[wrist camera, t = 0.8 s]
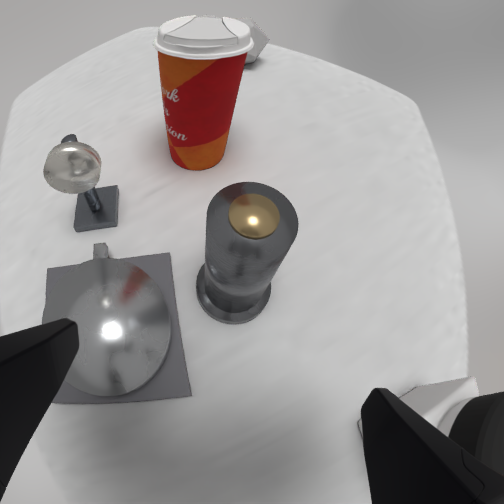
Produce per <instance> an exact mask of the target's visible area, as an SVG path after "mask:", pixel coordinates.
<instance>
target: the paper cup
mask: <svg viewBox="0 0 504 504" xmlns="http://www.w3.org/2000/svg"><path fill="white" fill-rule="evenodd" d="M253 45H254V42H253V40H252V38H251V37H250V28H249V27H248V25H246V24H245V23H243V22H241V21H239V20H236V19H233V18H228V17H223V18H222V20H221V18H216V16H202V17H196V15H192V16H185V17H179V18H175V19H172V20H169V21H167V22H165V23H164V24H162V25H161V27H160V28H159V31H158V36H157V37H156V38H155V40H154V41H153V46H154V48H155V49H156V50H157V51H158V60H159V71H160V81H161V90H162V99H163V107H164V115H165V122H166V130H167V136H168V143H169V148H170V153H171V157H172V159H173V161H174V162H175V163H176V164H177V165H179V166H180V167H182V168H185V169H188V170H205V169H208V168H211V167H213V166H215V165H216V164H218V163H219V162H220V160H221V159H222V157H223V155H224V151H225V147H226V143H227V138H228V134H229V129H230V125H231V120H232V116H233V112H234V107H235V103H236V98H237V94H238V90H239V86H240V81H241V77H242V73H243V69H244V65H245V61H246V57H247V53H248V51H250V50H251V49H252V48H253Z"/></svg>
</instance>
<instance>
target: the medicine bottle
mask: <svg viewBox="0 0 504 504" xmlns="http://www.w3.org/2000/svg"><path fill="white" fill-rule="evenodd" d="M399 399H400V400H402V401H403V402H404V403H405V404H407V405H408V406H409V407H410V408H412V409H413V410H414V411H415V412H417V413H418V414H419V415H420V416H422V417H423V418H424V419H425V420H427V421H428V422H429V423H431V424H432V425H433V426H434V427H436V428H437V429H438V430H439V431H441V432H442V433H443V434H445V435H446V436H447V437H448V438H450V439H451V440H452V441H454V442H455V443H456V444H458V445H459V446H460V447H461V448H463V449H464V450H465V451H467V452H468V453H469V454H471V455H472V456H473V457H475V458H476V459H478V460H479V461H480V462H482V463H484V464H485V465H487V466H488V467H490V468H491V469H493V470H495V471H496V472H498V473H499V474H501V475H503V476H504V392H499V393H494V394H489V395H484V396H479V392H478V387H477V384H476V379H475V377H473V376H470V377H466V378H461V379H456V380H451V381H446V382H441V383H435V384H429V385H422V386H418V387H416V388H415V389H413V390H412V391H410V392H408V393H407V394H405V395H404V396H402V397H400V398H399ZM359 427H360V431H361V434H362V437H363V433H362V420H360V421H359Z"/></svg>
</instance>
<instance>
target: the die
mask: <svg viewBox="0 0 504 504" xmlns="http://www.w3.org/2000/svg"><path fill="white" fill-rule="evenodd" d="M235 19H236V20H239V21H241V22H243V23H245V24H246V25H248V27H249V28H250V37H251V38H252V40H253V42H254V45H253V48H252V49H251V50H250V51H248V53H247V57H246V61H245V64H246V63H252V62H254V61H255V60H256V58H257V57H258V55H259V54H260V53H261V51H262V50H263V48H264V47H265V46H266V44H267V43H268V41H269V40H270V39H269V38H268V37H267V36H266V34H265V33H264V32H263V31H262V30H261V29H260V28H259V27H258V25H257V24H256V23H255V22H254V21H253V20H252V19H251V18H235Z"/></svg>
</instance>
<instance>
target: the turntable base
mask: <svg viewBox="0 0 504 504" xmlns="http://www.w3.org/2000/svg"><path fill="white" fill-rule="evenodd" d="M119 260H123V261H126V262H129V263H131V264H133V265H135V266H137V267H139V268H140V269H142V270H143V271H144V272H145V273H146V274H148V275H149V276H150V277H151V278H152V280H153V281H154V282H155V283H156V285H157V286H158V288H159V289H160V291H161V293H162V295H163V297H164V299H165V302H166V304H167V307H168V310H169V314H170V319H171V341H170V347H169V350H168V353H167V356H166V358H165V361H164V363H163V365H162V366H161V368H160V369H159V371H158V372H157V373H156V375H155V376H154V377H153V378H152V379H151V380H150V381H149V382H147V383H146V384H145V385H144V386H142V387H140V388H139V389H137V390H135V391H133V392H130V393H127V394H123V395H117V396H98V395H92V394H89V393H86V392H83V391H81V390H79V389H77V388H75V387H73V386H72V385H71V384H69V383H68V382H67V381H65V380H64V381H63V383H62V385H61V387H60V389H59V391H58V393H57V394H56V396H55V398H54V399H53V401H52V403H74V404H86V403H119V402H135V401H148V400H159V399H168V398H177V397H185V396H191V395H192V394H191V390H190V385H189V380H188V374H187V369H186V364H185V358H184V352H183V346H182V340H181V334H180V328H179V321H178V315H177V307H176V300H175V293H174V285H173V276H172V268H171V258H170V252H169V253H161V254H154V255H146V256H138V257H130V258H123V259H119ZM77 265H79V264H77ZM77 265H70V266H63V267H55V268H48V269H47V280H46V301H47V299H48V296H49V294H50V293H51V291H52V289H53V287H54V286H55V285H56V283H57V282H58V281H59V280H60V279H61V278H62V276H63V275H65V274H66V273H67V272H68V271H69V270H71V269H72V268H74V267H75V266H77Z"/></svg>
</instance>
